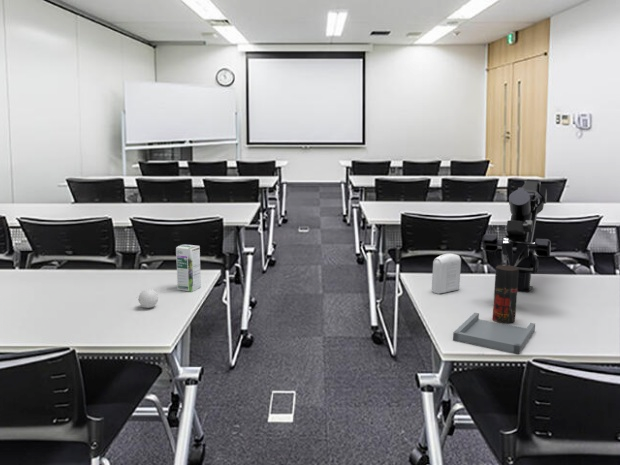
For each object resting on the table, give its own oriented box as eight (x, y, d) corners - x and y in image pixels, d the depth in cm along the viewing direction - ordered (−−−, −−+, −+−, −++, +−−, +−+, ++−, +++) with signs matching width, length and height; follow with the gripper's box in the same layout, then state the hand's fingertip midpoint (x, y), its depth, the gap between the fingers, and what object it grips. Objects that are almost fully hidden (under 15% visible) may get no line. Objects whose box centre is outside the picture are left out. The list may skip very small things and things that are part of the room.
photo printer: (451, 286, 185) (453, 250, 183) (461, 289, 182) (463, 253, 179) (429, 291, 180) (431, 254, 177) (439, 295, 176) (441, 257, 174)
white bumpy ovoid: (162, 305, 165) (161, 287, 164) (151, 311, 160) (150, 293, 159) (141, 303, 168) (139, 285, 167) (129, 308, 163) (128, 290, 162)
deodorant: (489, 316, 156) (492, 265, 153) (509, 316, 157) (513, 264, 154) (497, 324, 150) (501, 270, 148) (518, 323, 151) (522, 270, 148)
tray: (474, 319, 154) (474, 312, 154) (534, 330, 145) (535, 323, 145) (452, 339, 139) (453, 332, 139) (518, 354, 131) (519, 346, 130)
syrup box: (176, 290, 181) (174, 247, 178) (187, 285, 186) (185, 243, 183) (191, 292, 179) (189, 248, 176) (201, 287, 184) (200, 244, 181)
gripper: (485, 207, 164) (475, 250, 157) (553, 211, 156) (546, 257, 148) (488, 228, 173) (479, 271, 165) (553, 234, 164) (546, 279, 157)
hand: (511, 269), depth 159 cm, fingers closed
